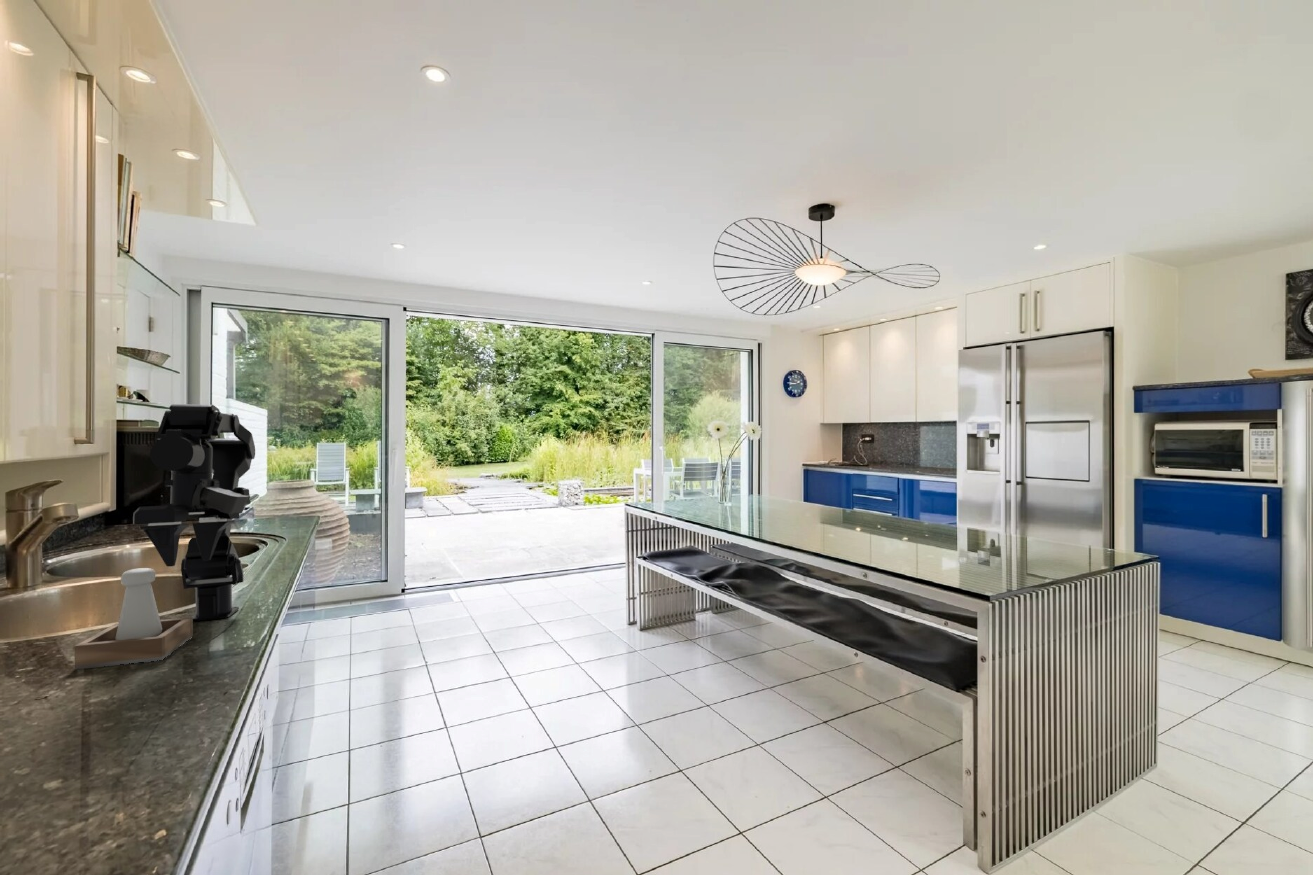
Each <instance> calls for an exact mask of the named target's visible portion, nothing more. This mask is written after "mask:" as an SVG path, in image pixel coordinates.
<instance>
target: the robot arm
mask: <svg viewBox="0 0 1313 875" xmlns="http://www.w3.org/2000/svg"><path fill="white" fill-rule="evenodd" d="M168 408H169V410H168V409H167V410H165V411H164V414H163V416H162V420H161V421H160V424H159V427H158V431H157V434H156V437H155V438H156V440H157V441H156V442H154V444H153V445H152V446H151V449H150V450H149V458H150V460H151V463H153V464H154V465H155V467H157V468H158V469H160V470H162V471H163V470H164V471H169V472H171V476H170V477H171V478H170V479H165V480H164V487H170V499H169V500H170V502H169V503H163V505H150V506H139V507H138V508H137V509H136V510H134V512H133V514H132V515H133V516H132V524H133V525H139V527H138V528H139V530H143V532H144V533H145V535H146V536H147V537H148V539H149V541H150V542H151V543H152V544H153V546H154V548H155V549H156V551H157V553H158V554H159V556H160V557H161V559H162V561H163V563H164V564H165V566H166V567H174V566H176V562H177V558H178V550H179V544H180V536H181V533H182V532H184V530H186V529H187V527H188V526H189V525H190V524H189V523H183V522H186V521H187V520H188V519H190V520H191V519H194V520H195V521H196V522H192V523H191V525H192V528H193V531H194V535H195V536H193V537H191V538H190V540H189V541H188V544H187V550H186V554H185V556H184V557H183V558H182V559H181V563H180V574H181V579H182V585H183V589H184V590H188V589H195V613H194V614H193V615H191V616H190V617H193V620H198V621H206V620H207V619H208V620H209V619H210V620H218V619H217V618H221V619H227V617H228V618H229V617H230V616H232V615H233V614H234V613H236V612H237V611H238V610H240V608H239V606H233V587H232V586H234V585H238V584H240V583H243V582H244V568H243V565H242V561H241V559H240V557H239V555H238V553H237V550H236V549H235V546H234V544H233V542H232V541H231V539H230V535H231V530H232V525H233V524H234V523H235V521H236V520H237V519H240V514H242V513H243V511H244V508H245V506H248V505H250V504H251V503H252V502H251V501H252V500H250V499H251V494H250V489H249V488H246V487H243V486H242V487H241V486H239V481H240V478H242V477H243V476H245V474H246V473H247V472H248V471H250V469H251V466H252V465H251V464H252V460H255V458H256V447H255V446H256V445H255V441H254V437H253V434H252V432H251V431H250V430H248V429H247V427H245V426H244V425H242V424H241V423H240V420H239V415H238V414H234V413H222V412H221V411H220V409H219V408H218V407H217V406H216V405H214V404H192V403H191V404H188V403H185V404H184V403H182V404H180V403H179V404H178V403H176V404H175V403H173V404H171V405H170V406H168ZM232 433H233V436H234V437H235V438H231V437H230V438H217V437H218V436H220V434H232ZM234 519H236V520H234ZM197 521H198V522H197ZM145 524H146V525H145ZM208 620H207V621H208Z"/></svg>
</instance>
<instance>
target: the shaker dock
mask: <svg viewBox="0 0 1313 875" xmlns="http://www.w3.org/2000/svg"><path fill="white" fill-rule="evenodd" d="M160 622H161V626H162V632H161V634H160V635H159V636H157V637H147V638H136V639H126V640H116V639H115V638H116V633H117V629H118V624H119V622H118V623H115V624H112V625H111V626H109V627H107V628H105V629H104V630H102V631H99V632H98V633H95V634H94V635H93V636H90V637H89V638H87V639H85V640H82V641H81V642H79V643H77V644H76V645H74V670H83V669H93V668H102V667H104V666H105V667H112V666H114V667H115V666H121V665H120V664H124V665H131V663H134V664H139V663H138V662H144V663H151V661H154V662H160V661H159V660H162V659H164V658H165V657H166V658H168V657H169V656H170V655H171V652H173V651H174V650H176V649H177V648H178V647H179V646H180V645H182V644H183V643H185V642H186V641H188V640H189V639H190V638H191V637H192V636H193V637H194V627H193V626H194V624H193V622H194V621H193V617H191V616H190V617H180V618H178V617H177V618H169V619H160ZM190 640H191V639H190ZM190 640H189V641H190ZM189 641H188V642H189ZM186 643H187V642H186ZM186 643H185V644H186ZM182 646H183V645H182ZM178 649H179V648H178ZM178 649H177V650H178ZM177 650H176V651H177ZM174 652H175V651H174ZM174 652H173V653H174ZM168 655H169V656H168ZM167 656H168V657H167ZM166 658H165V659H166ZM165 659H164V660H165ZM157 660H158V661H157ZM162 661H163V660H162ZM129 663H130V664H129Z"/></svg>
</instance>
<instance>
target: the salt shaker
mask: <svg viewBox="0 0 1313 875" xmlns="http://www.w3.org/2000/svg"><path fill="white" fill-rule="evenodd" d="M155 580H156V571H155V569H153V568H150V567H149V568H148V567H141V568H132V569H128V570H126V571H124V572H123V573H122V574H121V577H120V583H121V586H123V587H125V590H124V596H123V600H122V604H121V605H122V606H121V611H120V614H119V619H118V620H119V621H118V623H119V624H118V623H117V624H118V629H117V633H116V638H115V639H116V640H126V639H136V638H147V637H157V636H159V635H160V634H161V632H162V626H161V622H160V620H161V618H160V615H159V611H158V607H157V602H156V599H155V595H154V590H153V586H152V583H154V582H155Z"/></svg>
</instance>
